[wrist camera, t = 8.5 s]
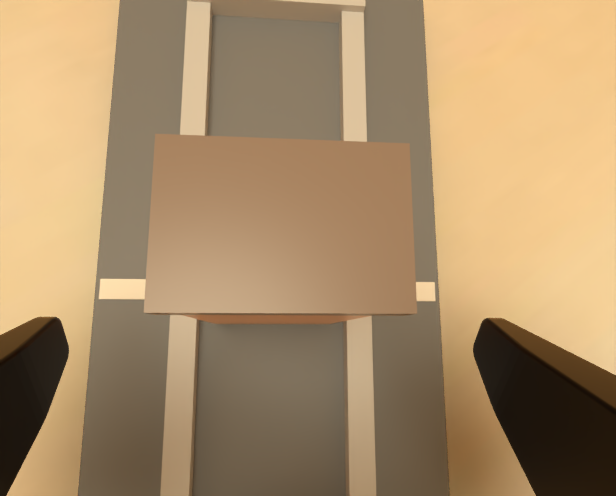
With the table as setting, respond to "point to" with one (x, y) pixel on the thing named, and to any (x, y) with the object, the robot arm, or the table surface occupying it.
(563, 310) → the table surface
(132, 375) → the board
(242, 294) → the fader tab
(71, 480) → the table surface
